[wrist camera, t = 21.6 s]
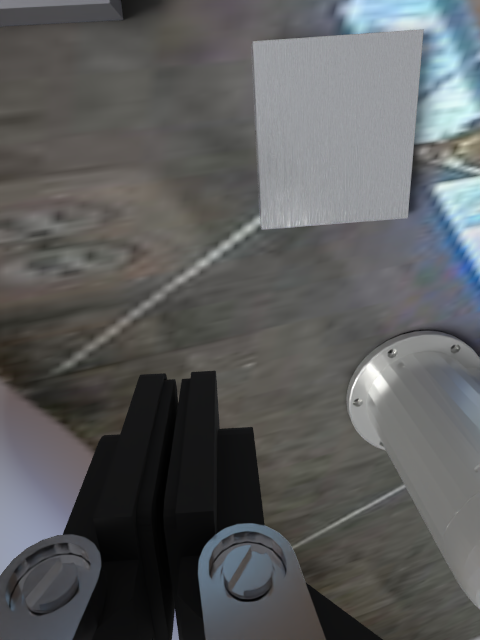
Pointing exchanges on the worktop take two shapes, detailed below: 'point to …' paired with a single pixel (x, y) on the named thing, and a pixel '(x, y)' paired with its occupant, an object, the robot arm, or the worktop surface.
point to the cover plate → (335, 127)
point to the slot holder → (58, 11)
